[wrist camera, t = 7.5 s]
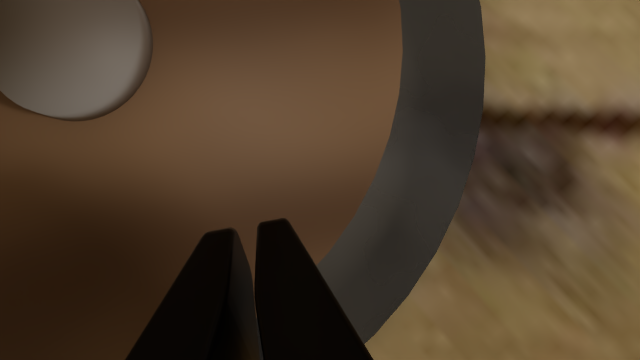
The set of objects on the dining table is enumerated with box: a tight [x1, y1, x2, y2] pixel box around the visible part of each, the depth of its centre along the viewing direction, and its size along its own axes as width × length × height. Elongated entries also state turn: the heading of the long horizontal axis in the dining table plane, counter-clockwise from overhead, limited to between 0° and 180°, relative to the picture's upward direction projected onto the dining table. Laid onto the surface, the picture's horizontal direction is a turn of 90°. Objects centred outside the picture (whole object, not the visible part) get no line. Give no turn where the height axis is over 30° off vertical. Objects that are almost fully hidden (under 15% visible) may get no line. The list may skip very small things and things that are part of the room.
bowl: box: [256, 0, 485, 360], centre depth 14 cm, size 22×22×5 cm
